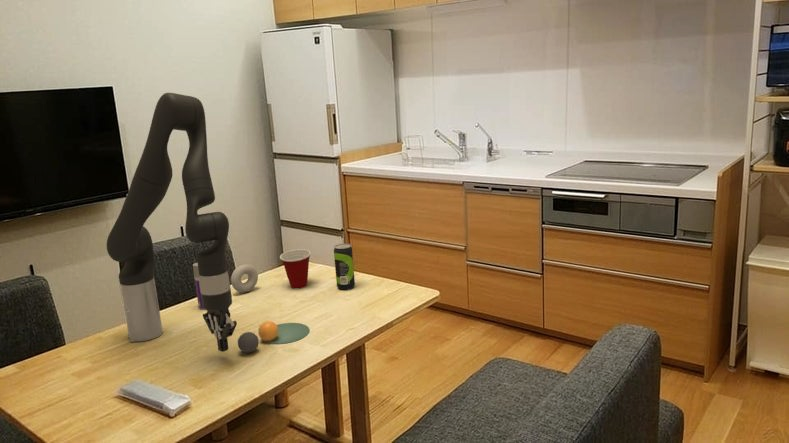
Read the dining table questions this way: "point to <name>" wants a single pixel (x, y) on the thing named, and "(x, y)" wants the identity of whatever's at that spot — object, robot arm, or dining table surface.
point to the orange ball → (268, 331)
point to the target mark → (289, 333)
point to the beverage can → (344, 266)
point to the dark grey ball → (248, 342)
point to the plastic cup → (296, 266)
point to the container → (197, 285)
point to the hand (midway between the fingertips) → (223, 350)
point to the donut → (239, 273)
